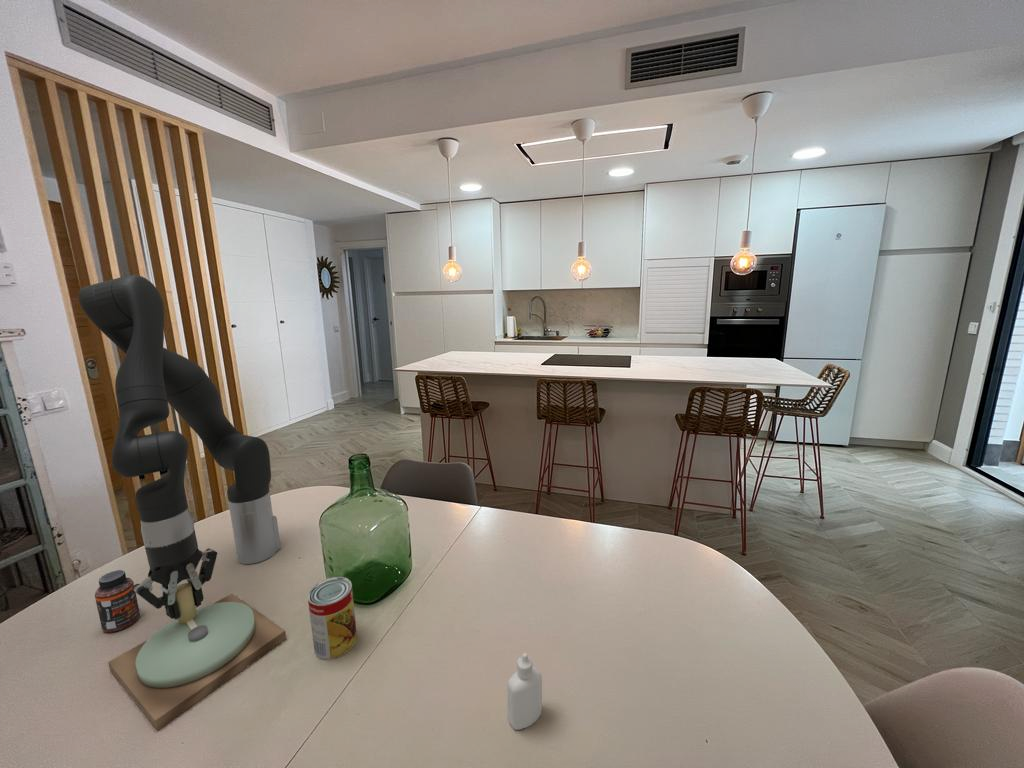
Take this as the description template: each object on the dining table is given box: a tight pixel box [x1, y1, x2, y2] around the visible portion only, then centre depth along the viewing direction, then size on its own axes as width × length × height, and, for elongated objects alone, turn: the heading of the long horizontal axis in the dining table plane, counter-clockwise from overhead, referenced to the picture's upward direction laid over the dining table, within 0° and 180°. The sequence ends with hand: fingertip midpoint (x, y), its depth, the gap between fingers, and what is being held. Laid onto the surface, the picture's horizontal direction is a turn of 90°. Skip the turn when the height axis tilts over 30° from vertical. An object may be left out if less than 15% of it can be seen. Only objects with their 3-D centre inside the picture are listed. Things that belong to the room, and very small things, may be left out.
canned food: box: [307, 576, 358, 661], centre depth 81 cm, size 8×8×12 cm
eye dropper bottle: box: [506, 652, 543, 731], centre depth 66 cm, size 4×6×12 cm
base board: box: [107, 593, 287, 732], centre depth 79 cm, size 21×21×2 cm
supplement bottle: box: [94, 569, 141, 633], centre depth 87 cm, size 6×6×11 cm
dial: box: [136, 582, 255, 688], centre depth 78 cm, size 18×18×9 cm
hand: (186, 610), depth 83 cm, fingers closed on dial, 3 cm apart
